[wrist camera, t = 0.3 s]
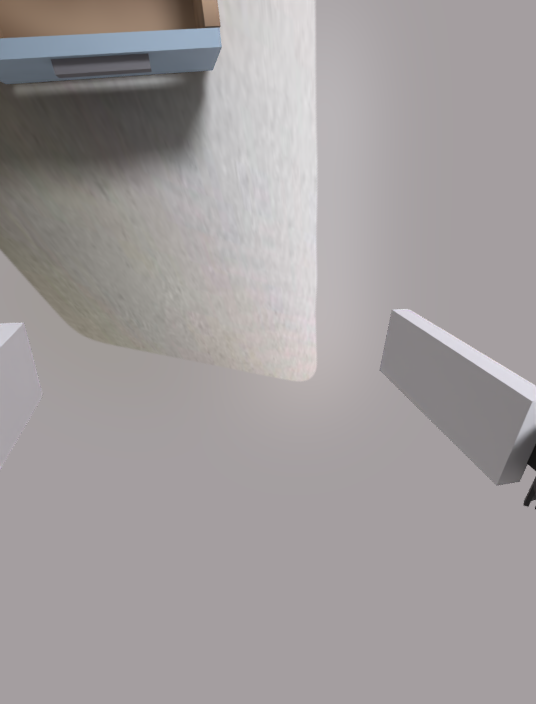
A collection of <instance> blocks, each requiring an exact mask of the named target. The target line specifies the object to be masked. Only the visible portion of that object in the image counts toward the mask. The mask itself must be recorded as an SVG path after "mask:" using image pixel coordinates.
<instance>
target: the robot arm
mask: <svg viewBox="0 0 536 704" xmlns="http://www.w3.org/2000/svg"><path fill="white" fill-rule="evenodd" d="M380 371H381V372H382V373H383V374H384V375H385V376H386V377H387V378H388V379H389V380H390V381H391V382H392V383H393V384H394V385H395V386H396V387H397V388H398V389H399V390H400V391H401V392H402V393H403V394H404V395H405V396H406V397H407V398H408V399H409V400H410V401H411V402H412V403H413V404H414V405H416V407H417V408H418V409H419V410H421V412H423V413H424V414H425V415H426V416H427V417H428V418H429V419H430V420H431V421H432V422H433V423H434V424H435V425H436V426H437V427H438V428H439V429H440V430H441V431H442V432H443V433H444V434H445V435H446V436H447V437H448V438H449V439H450V440H451V441H452V442H453V443H454V444H455V445H456V446H457V447H458V448H459V449H460V450H461V451H462V452H463V453H464V454H465V455H466V456H467V457H468V458H469V459H470V460H471V461H472V462H473V463H474V464H475V465H476V466H477V467H478V468H479V469H480V470H482V472H483V473H484V474H485V475H486V476H487V477H488V478H489V479H490V480H491V481H492V482H494V484H496V485H503V484H509V483H515V482H519V481H520V479H521V477H522V475H523V473H524V471H525V469H526V466H527V464H528V465H530V466H531V467H532V468H533V469H534V470H535V471H536V386H535V385H534V384H532V383H531V382H529V381H527V380H526V379H524V378H522V377H521V376H519V375H517V374H515V373H514V372H512V371H511V370H509V369H507V368H506V367H504V366H502V365H500V364H499V363H497V362H496V361H494V360H492V359H491V358H489V357H487V356H486V355H484V354H482V353H481V352H479V351H478V350H476V349H474V348H473V347H471V346H469V345H468V344H466V343H464V342H463V341H461V340H459V339H457V338H456V337H454V336H453V335H451V334H449V333H447V332H446V331H444V330H443V329H441V328H439V327H438V326H436V325H434V324H433V323H431V322H429V321H428V320H426V319H425V318H423V317H421V316H420V315H418V314H416V313H415V312H413V311H411V310H410V309H399V310H392V312H391V317H390V322H389V327H388V332H387V336H386V341H385V347H384V351H383V356H382V361H381V366H380ZM42 396H43V393H42V390H41V386H40V382H39V378H38V374H37V370H36V366H35V362H34V358H33V355H32V351H31V347H30V343H29V339H28V335H27V331H26V328H25V324H24V323H0V470H1V468H2V466H3V464H4V463H5V461H6V459H7V457H8V456H9V454H10V452H11V450H12V448H13V447H14V445H15V443H16V441H17V440H18V438H19V436H20V435H21V433H22V431H23V429H24V428H25V426H26V424H27V422H28V421H29V419H30V417H31V415H32V414H33V412H34V410H35V408H36V407H37V405H38V403H39V401H40V400H41V398H42ZM533 500H536V477H535V479H534V482H533V484H532V486H531V488H530V490H529V492H528V494H527V496H526V498H525V500H524V505H525V506H529V504H530V502H531V501H533ZM535 509H536V507H535Z"/></svg>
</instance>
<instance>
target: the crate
mask: <svg viewBox="0 0 536 704" xmlns="http://www.w3.org/2000/svg"><path fill="white" fill-rule="evenodd" d="M200 28H220V19H219V11H218V3H217V0H0V38H19V37H39V36H59V35H79V34H99V33H119V32H140V31H160V30H180V29H200Z"/></svg>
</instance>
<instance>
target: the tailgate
mask: <svg viewBox="0 0 536 704" xmlns="http://www.w3.org/2000/svg"><path fill="white" fill-rule="evenodd" d="M221 47H222V46H221V37H220V29H219V28H200V29H180V30H160V31H140V32H119V33H99V34H79V35H59V36H39V37H19V38H0V81H1V82H3V83H5V84H17V83H32V82H47V81H61V80H76V79H91V78H106V77H120V76H135V75H150V74H165V73H180V72H194V71H209V70H213V68H214V66H215V63H216V60H217V58H218V55H219V53H220V50H221Z"/></svg>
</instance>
